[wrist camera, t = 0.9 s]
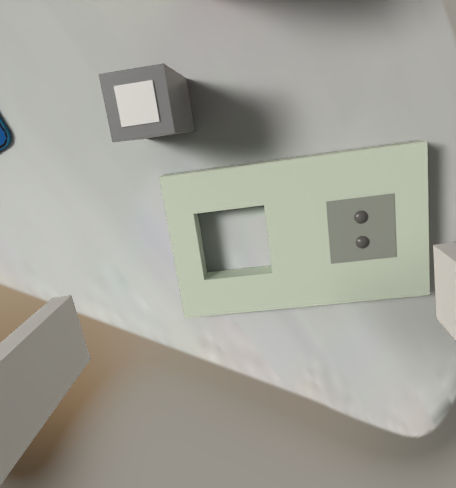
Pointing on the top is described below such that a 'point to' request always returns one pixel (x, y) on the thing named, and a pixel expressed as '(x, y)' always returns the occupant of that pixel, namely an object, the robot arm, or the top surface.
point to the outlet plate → (308, 229)
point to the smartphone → (4, 135)
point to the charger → (146, 103)
